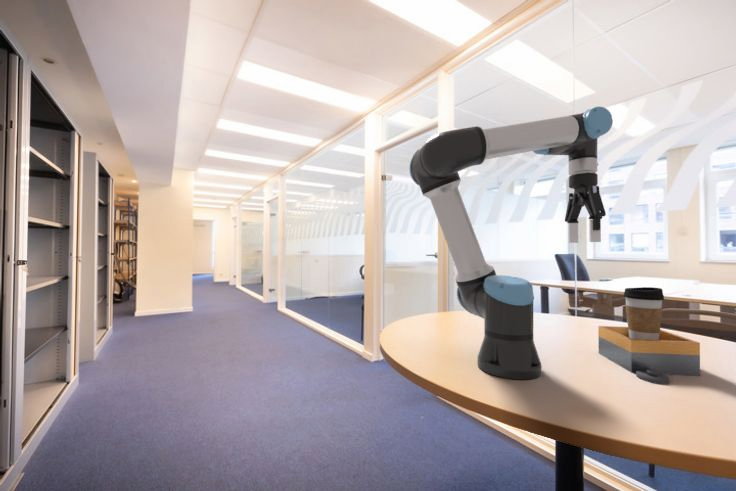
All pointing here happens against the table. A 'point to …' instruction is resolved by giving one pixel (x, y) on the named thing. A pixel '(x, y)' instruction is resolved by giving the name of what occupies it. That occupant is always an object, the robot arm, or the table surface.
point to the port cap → (652, 376)
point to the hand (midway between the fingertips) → (583, 242)
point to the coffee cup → (644, 312)
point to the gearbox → (650, 351)
